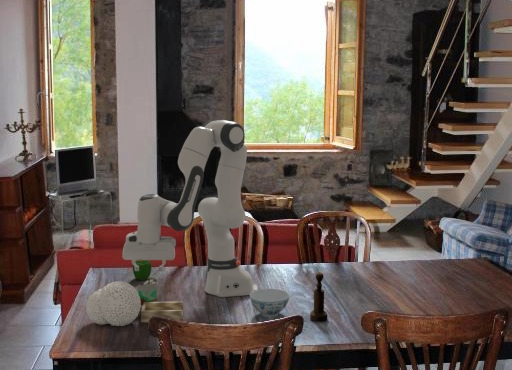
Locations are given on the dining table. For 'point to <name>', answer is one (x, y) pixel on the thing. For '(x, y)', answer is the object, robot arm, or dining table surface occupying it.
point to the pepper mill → (318, 301)
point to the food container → (148, 290)
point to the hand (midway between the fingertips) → (148, 270)
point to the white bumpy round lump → (114, 304)
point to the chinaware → (269, 301)
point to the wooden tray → (161, 310)
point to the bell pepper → (142, 269)
